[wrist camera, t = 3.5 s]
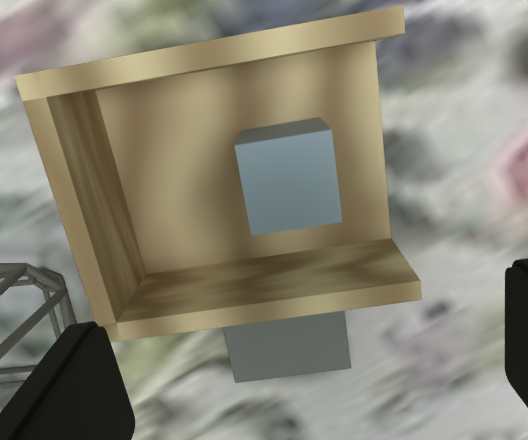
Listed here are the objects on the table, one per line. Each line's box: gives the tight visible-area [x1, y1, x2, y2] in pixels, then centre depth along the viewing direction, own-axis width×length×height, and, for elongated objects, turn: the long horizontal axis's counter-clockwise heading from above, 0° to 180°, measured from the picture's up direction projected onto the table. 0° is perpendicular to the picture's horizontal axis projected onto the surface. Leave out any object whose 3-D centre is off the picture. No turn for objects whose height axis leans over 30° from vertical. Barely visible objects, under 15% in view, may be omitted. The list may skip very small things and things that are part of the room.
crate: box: [14, 5, 422, 342], centre depth 27 cm, size 19×15×7 cm
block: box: [234, 117, 342, 236], centre depth 27 cm, size 5×5×6 cm
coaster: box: [223, 310, 351, 383], centre depth 33 cm, size 9×9×1 cm
